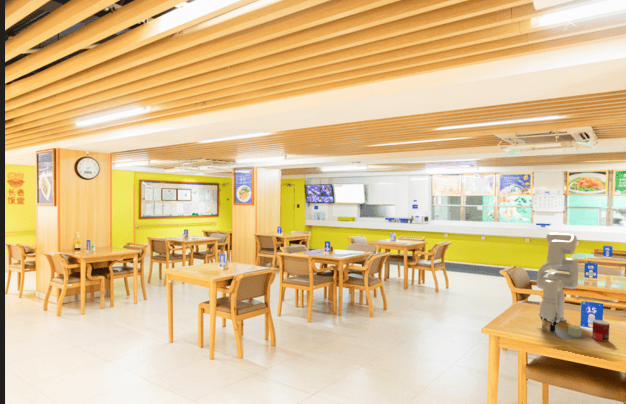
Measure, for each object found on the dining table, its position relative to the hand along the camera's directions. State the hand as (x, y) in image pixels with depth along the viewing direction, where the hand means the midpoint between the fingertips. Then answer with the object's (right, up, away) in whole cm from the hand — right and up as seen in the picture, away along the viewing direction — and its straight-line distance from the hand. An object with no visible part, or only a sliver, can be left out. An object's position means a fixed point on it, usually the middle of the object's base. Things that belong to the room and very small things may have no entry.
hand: (548, 329), depth 250 cm
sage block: (+11, -1, -7) cm, 13 cm away
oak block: (0, -1, 0) cm, 1 cm away
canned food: (+23, -3, -13) cm, 26 cm away
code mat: (+5, -2, -4) cm, 7 cm away
